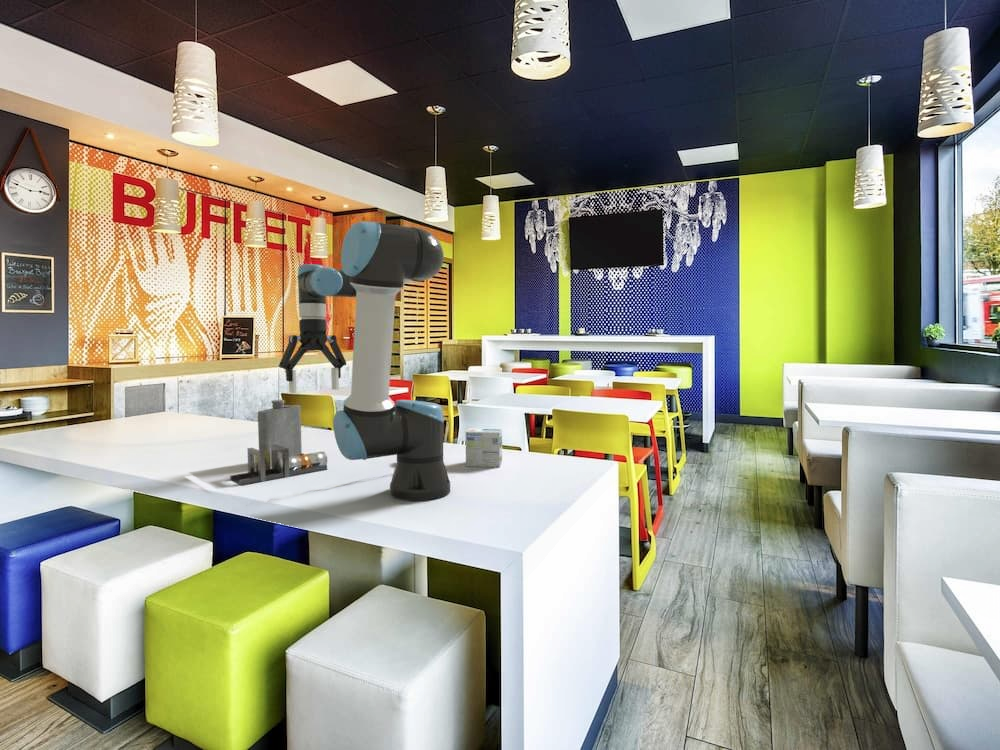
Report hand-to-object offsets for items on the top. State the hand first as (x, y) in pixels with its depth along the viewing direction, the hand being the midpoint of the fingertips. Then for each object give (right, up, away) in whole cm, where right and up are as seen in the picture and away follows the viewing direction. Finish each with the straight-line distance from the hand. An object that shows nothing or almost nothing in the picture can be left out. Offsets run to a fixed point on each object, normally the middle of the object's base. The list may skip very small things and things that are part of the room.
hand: (314, 391), depth 165 cm
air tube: (-1, -22, -6) cm, 23 cm away
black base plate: (-6, -24, -10) cm, 27 cm away
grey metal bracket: (-8, -23, -13) cm, 27 cm away
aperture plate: (-11, -24, -9) cm, 28 cm away
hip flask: (-11, -23, +3) cm, 26 cm away
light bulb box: (+50, -23, +6) cm, 55 cm away
